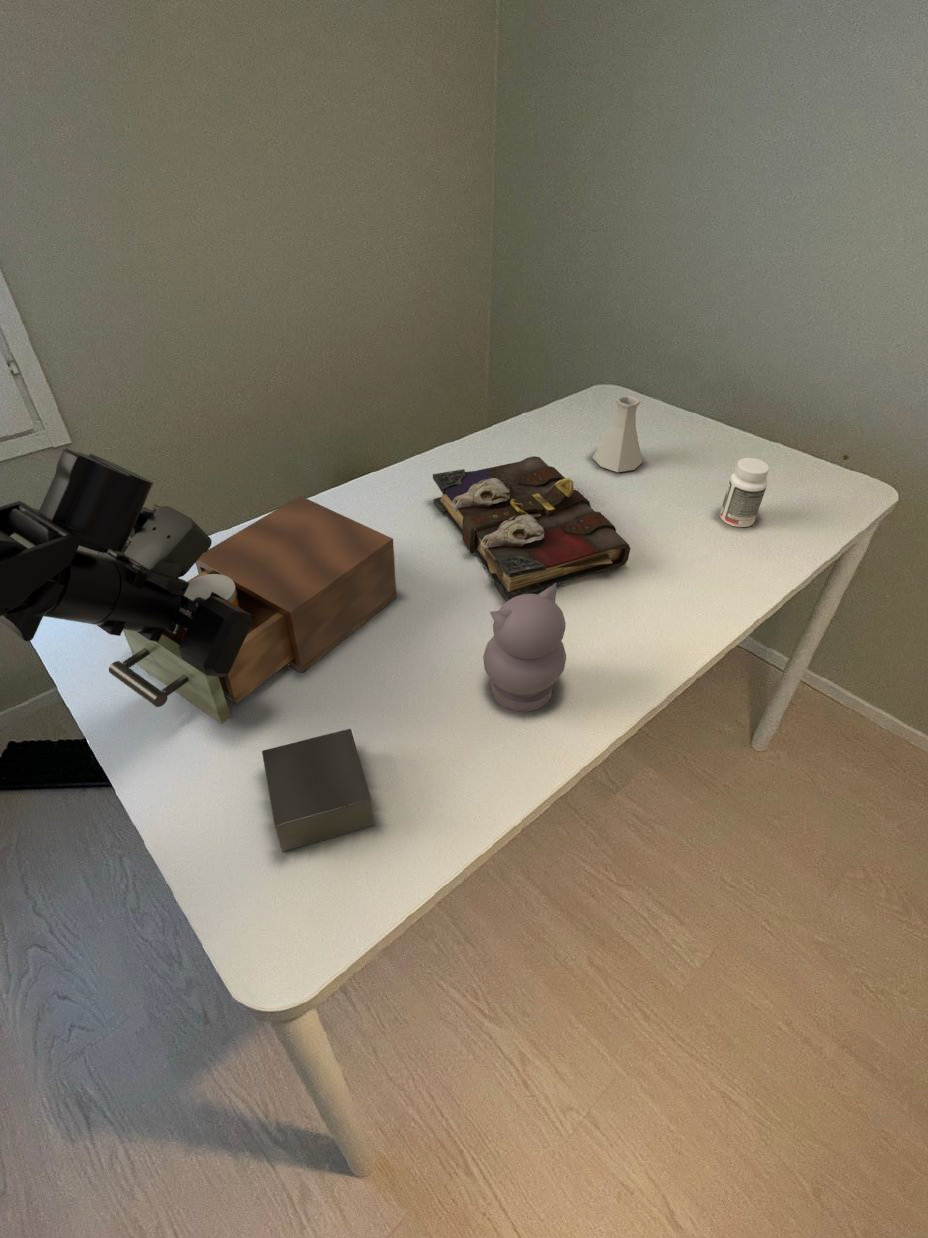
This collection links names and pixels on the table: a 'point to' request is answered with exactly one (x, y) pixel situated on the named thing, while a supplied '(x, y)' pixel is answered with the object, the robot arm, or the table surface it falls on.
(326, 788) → the stand
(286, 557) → the cabinet
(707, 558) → the table surface
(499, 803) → the table surface
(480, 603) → the table surface
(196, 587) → the amber jar
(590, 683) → the table surface
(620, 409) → the flask
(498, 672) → the cat figurine
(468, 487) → the book
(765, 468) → the pill bottle
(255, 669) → the drawer
